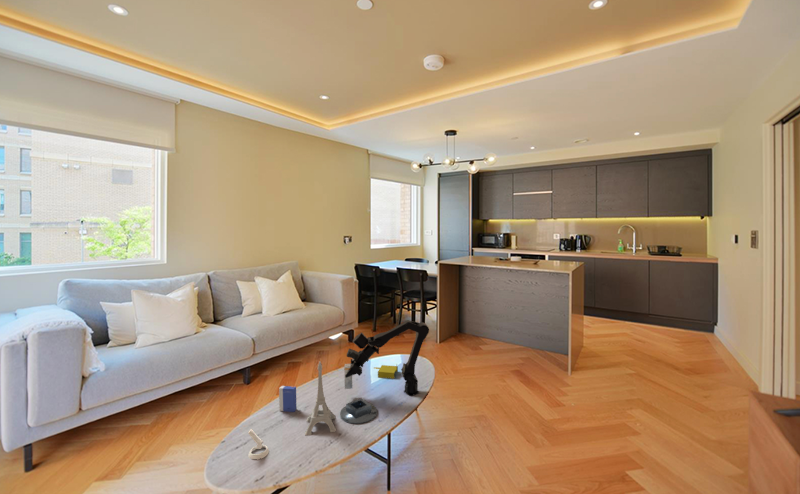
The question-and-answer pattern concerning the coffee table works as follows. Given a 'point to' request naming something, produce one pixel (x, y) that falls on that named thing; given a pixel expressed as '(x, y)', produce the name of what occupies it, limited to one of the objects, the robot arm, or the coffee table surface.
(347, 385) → the square box
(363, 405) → the square socket base
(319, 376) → the eiffel tower
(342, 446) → the coffee table surface
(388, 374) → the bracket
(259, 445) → the hook
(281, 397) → the walkman
